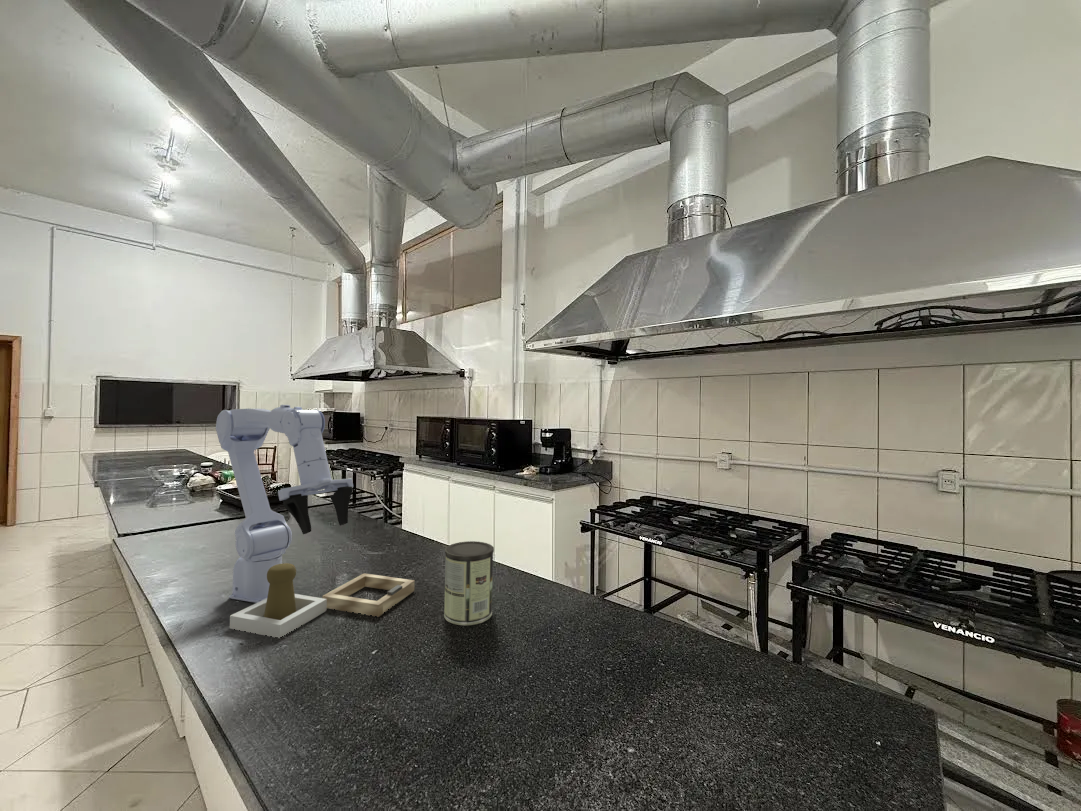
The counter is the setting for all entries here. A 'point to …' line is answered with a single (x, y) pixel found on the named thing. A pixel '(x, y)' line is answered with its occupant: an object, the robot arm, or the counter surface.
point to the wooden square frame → (369, 607)
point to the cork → (280, 591)
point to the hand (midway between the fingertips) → (326, 528)
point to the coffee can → (468, 582)
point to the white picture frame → (255, 623)
